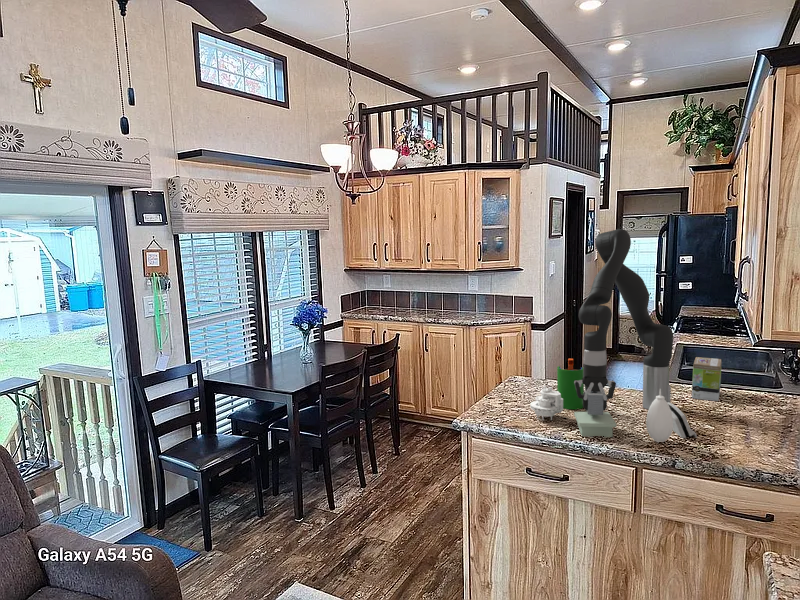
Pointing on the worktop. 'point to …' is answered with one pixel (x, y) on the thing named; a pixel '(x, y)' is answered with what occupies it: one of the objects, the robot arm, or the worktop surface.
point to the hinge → (680, 422)
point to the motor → (570, 386)
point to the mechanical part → (547, 403)
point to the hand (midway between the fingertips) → (594, 409)
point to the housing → (595, 403)
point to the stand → (595, 424)
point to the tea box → (706, 378)
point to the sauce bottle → (659, 419)
